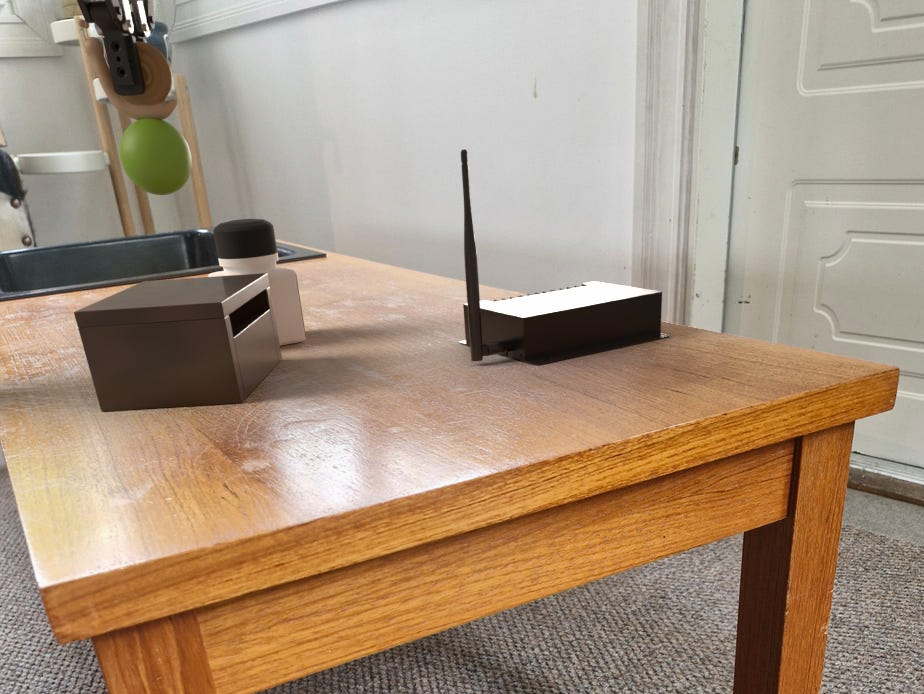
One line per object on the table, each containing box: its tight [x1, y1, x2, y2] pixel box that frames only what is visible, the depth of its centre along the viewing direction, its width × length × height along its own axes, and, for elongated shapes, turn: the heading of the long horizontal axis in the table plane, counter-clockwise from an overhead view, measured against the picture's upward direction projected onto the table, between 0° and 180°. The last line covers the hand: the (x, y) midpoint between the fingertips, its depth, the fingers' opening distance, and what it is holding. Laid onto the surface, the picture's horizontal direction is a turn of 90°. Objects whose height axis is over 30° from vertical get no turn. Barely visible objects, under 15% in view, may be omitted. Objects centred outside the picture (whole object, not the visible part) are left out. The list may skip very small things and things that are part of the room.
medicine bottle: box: [207, 218, 307, 347], centre depth 93 cm, size 7×7×12 cm
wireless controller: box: [459, 148, 672, 366], centre depth 83 cm, size 20×14×17 cm
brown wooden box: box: [73, 273, 283, 412], centre depth 80 cm, size 12×16×8 cm
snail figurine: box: [77, 18, 193, 196], centre depth 70 cm, size 5×6×12 cm
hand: (136, 94), depth 69 cm, fingers closed on snail figurine
